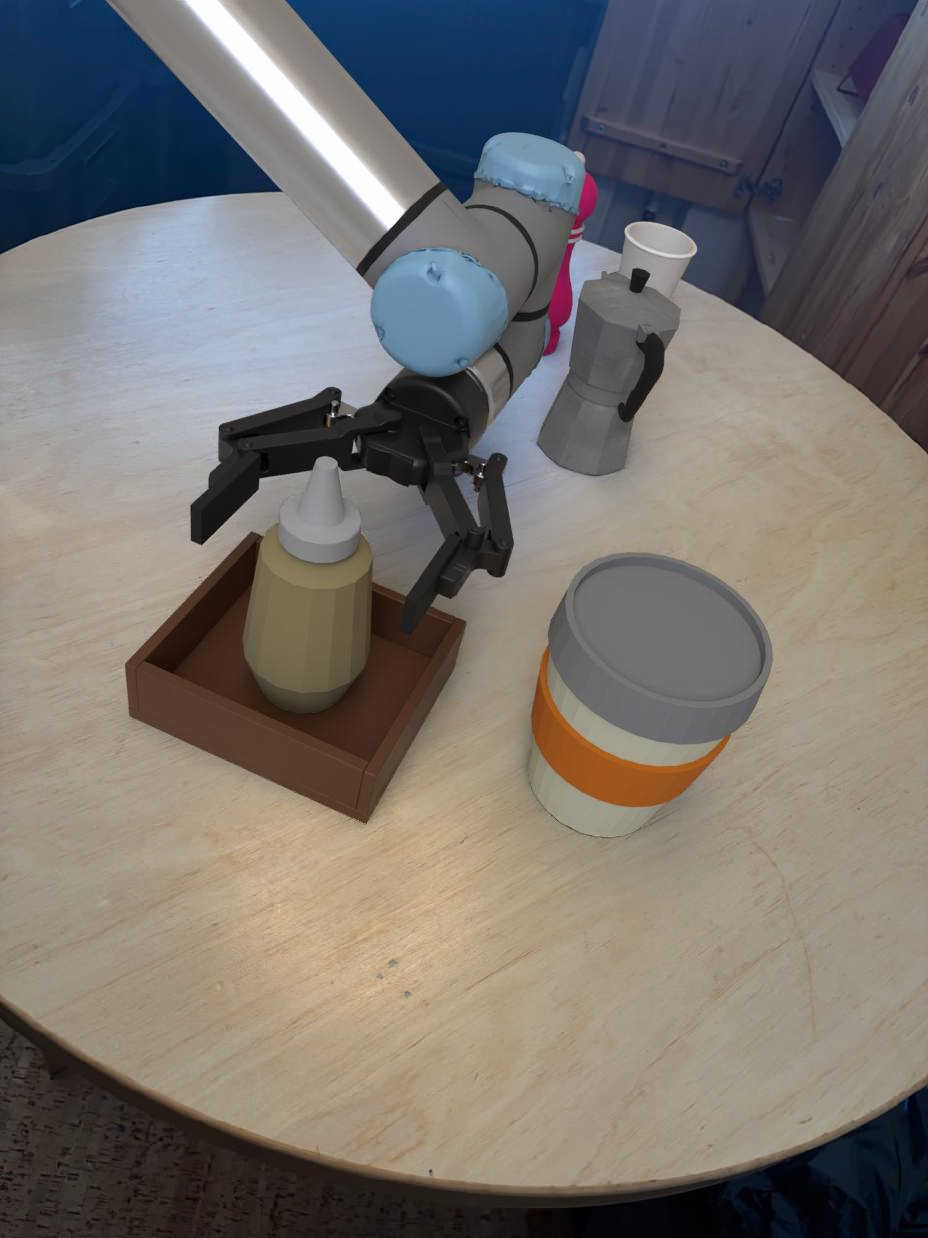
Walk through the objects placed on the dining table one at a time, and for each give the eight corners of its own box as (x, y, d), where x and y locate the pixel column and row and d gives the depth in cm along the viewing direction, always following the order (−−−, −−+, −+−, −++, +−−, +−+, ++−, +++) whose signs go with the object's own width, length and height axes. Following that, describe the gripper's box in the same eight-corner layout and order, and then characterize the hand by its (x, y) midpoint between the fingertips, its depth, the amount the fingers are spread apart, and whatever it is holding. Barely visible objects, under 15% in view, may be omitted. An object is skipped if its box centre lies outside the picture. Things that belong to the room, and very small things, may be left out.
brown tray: (128, 716, 60) (124, 663, 56) (249, 581, 70) (251, 530, 67) (365, 824, 58) (375, 777, 54) (453, 669, 68) (467, 620, 64)
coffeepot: (521, 405, 95) (569, 228, 82) (609, 411, 97) (669, 240, 84) (556, 503, 84) (618, 318, 72) (654, 508, 87) (730, 329, 74)
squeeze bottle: (217, 699, 61) (219, 474, 48) (277, 621, 67) (293, 402, 54) (331, 748, 60) (364, 531, 47) (382, 664, 66) (424, 451, 53)
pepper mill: (500, 317, 107) (544, 130, 93) (562, 333, 107) (615, 148, 93) (493, 348, 101) (538, 155, 88) (558, 364, 102) (614, 174, 88)
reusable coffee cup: (715, 847, 61) (819, 699, 51) (537, 878, 57) (611, 725, 47) (638, 697, 69) (715, 544, 59) (477, 716, 65) (529, 554, 55)
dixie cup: (585, 309, 112) (610, 226, 105) (629, 296, 117) (656, 216, 110) (638, 344, 109) (667, 260, 102) (681, 329, 113) (712, 248, 107)
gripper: (587, 507, 70) (487, 699, 55) (287, 387, 73) (115, 537, 58) (618, 422, 65) (517, 608, 50) (293, 297, 68) (107, 436, 53)
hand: (300, 570), depth 54 cm, fingers open, 13 cm apart
